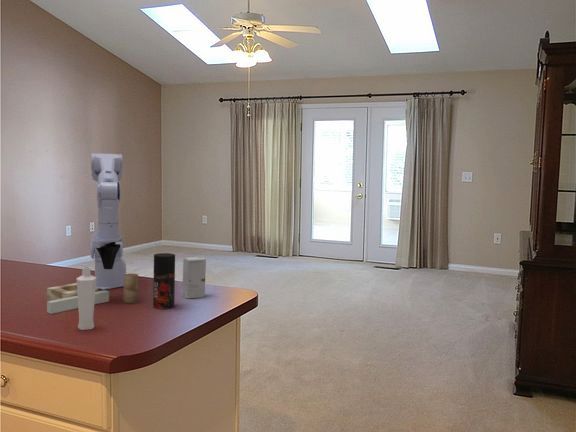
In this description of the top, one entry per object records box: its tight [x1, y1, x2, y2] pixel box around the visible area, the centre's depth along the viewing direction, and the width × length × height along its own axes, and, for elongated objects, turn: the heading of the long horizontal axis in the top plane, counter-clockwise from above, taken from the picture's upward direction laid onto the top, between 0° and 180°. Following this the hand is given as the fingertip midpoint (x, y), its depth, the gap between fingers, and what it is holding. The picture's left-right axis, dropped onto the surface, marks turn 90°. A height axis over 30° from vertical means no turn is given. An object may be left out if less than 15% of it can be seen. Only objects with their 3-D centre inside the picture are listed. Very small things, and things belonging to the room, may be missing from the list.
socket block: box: [46, 282, 99, 302], centre depth 151 cm, size 10×10×4 cm
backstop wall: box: [46, 289, 110, 315], centre depth 146 cm, size 18×2×3 cm, turn 145°
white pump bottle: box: [75, 266, 96, 331], centre depth 127 cm, size 5×4×15 cm
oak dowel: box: [122, 273, 139, 304], centre depth 153 cm, size 4×4×8 cm
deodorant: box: [152, 252, 176, 310], centre depth 149 cm, size 6×6×15 cm
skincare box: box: [181, 256, 207, 299], centre depth 162 cm, size 6×4×12 cm
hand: (108, 268), depth 153 cm, fingers closed
